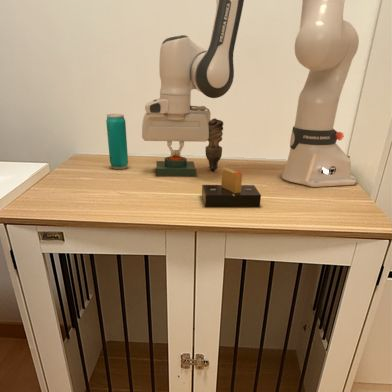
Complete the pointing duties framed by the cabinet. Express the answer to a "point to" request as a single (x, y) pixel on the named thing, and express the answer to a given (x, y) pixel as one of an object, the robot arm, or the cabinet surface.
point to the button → (175, 158)
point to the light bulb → (214, 143)
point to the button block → (176, 167)
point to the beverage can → (117, 141)
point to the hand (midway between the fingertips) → (175, 156)
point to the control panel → (230, 196)
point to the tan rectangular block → (231, 180)
